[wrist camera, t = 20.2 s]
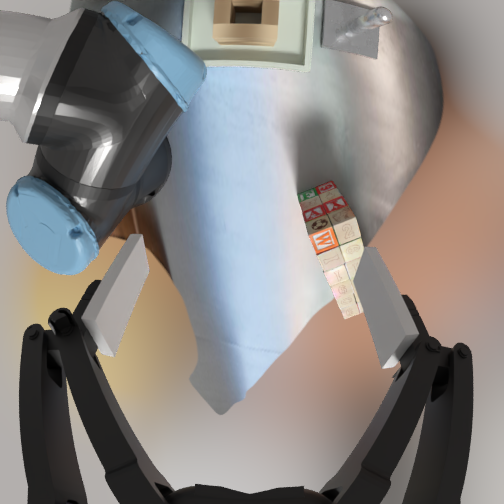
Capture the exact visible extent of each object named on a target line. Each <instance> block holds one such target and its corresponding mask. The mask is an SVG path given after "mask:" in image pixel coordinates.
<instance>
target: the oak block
mask: <svg viewBox="0 0 504 504" xmlns="http://www.w3.org/2000/svg"><path fill="white" fill-rule="evenodd" d="M236 13H262V17H261V24H235V18H236ZM278 18H279V0H215V3H214V18H213V36H212V38H213V39H214V40H215V41H217V42H218V43H219V44H220V45H253V46H271V47H274V45H275V43H276V41H277V35H278Z"/></svg>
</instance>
